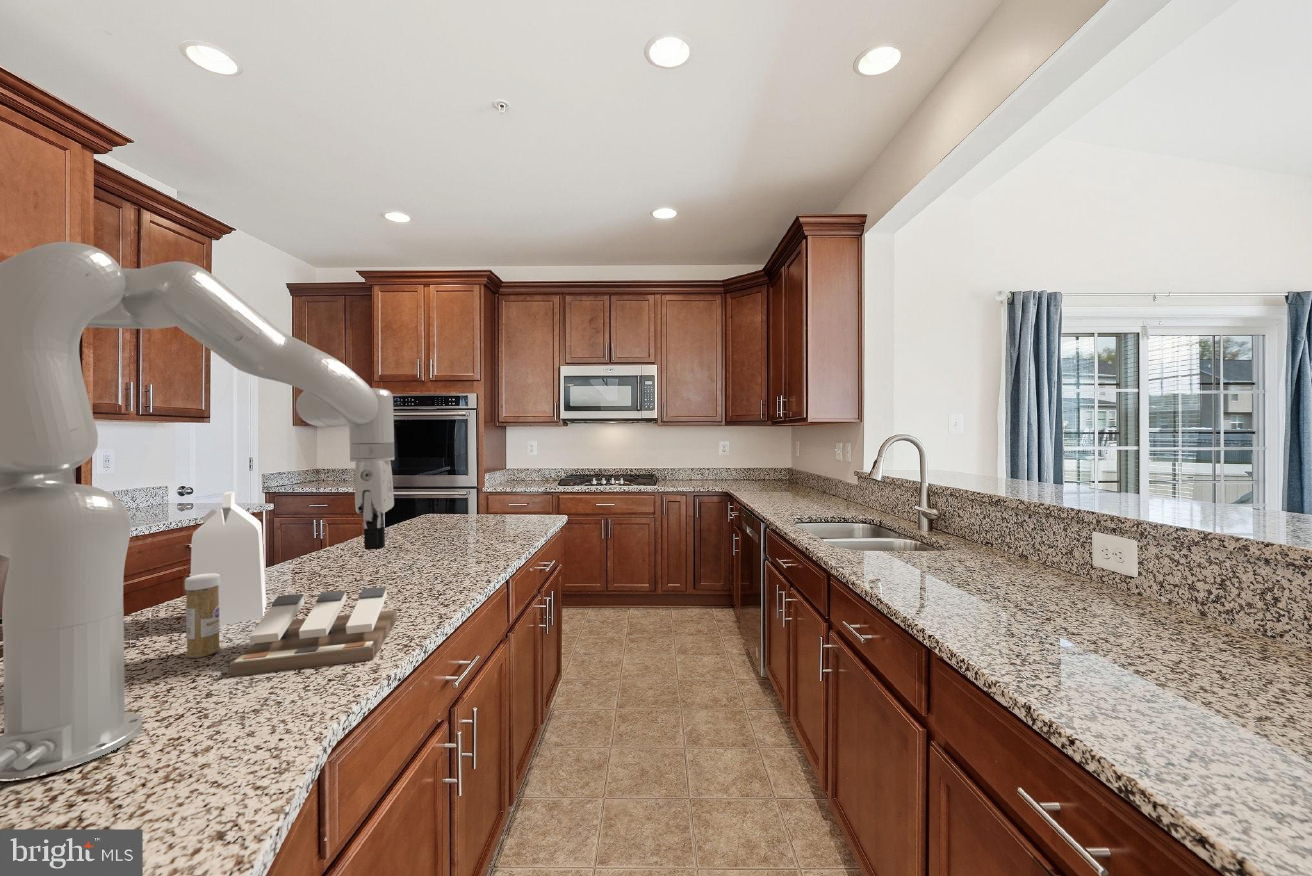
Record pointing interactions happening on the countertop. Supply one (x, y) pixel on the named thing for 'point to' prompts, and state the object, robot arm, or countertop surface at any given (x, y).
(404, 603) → the countertop surface
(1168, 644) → the countertop surface
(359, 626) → the block
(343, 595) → the rocker middle
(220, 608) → the milk
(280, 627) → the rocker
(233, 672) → the switch unit
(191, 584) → the sprinkles bottle
